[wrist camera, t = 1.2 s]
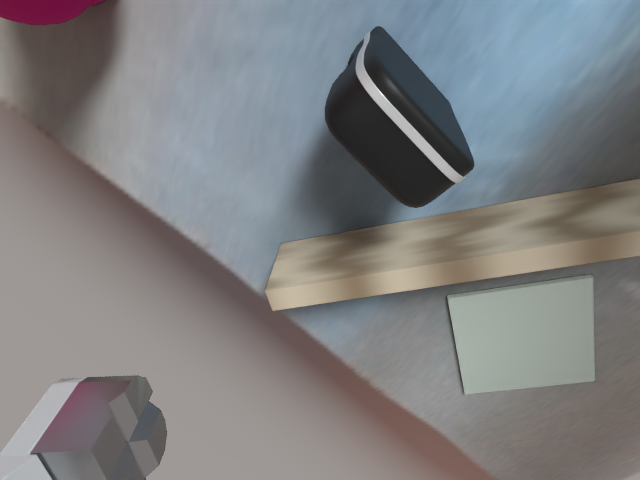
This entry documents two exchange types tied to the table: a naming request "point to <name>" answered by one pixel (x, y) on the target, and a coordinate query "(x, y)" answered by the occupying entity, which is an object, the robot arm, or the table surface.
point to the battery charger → (397, 122)
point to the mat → (525, 335)
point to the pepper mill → (43, 10)
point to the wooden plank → (460, 247)
